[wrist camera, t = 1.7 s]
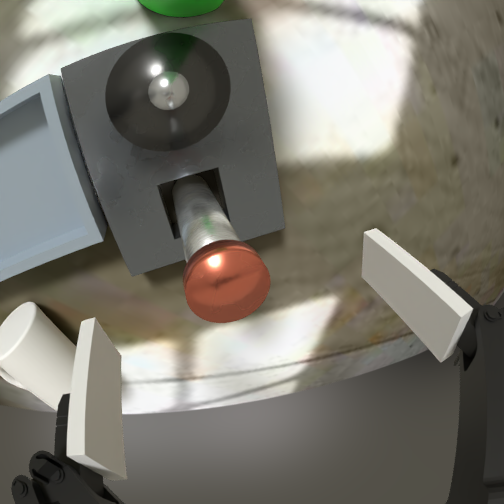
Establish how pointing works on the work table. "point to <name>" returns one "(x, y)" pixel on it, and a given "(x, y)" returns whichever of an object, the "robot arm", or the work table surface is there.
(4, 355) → the mug
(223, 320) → the pin
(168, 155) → the grey block with dome
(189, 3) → the green-shelled ribbed roller
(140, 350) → the work table surface
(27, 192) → the tray
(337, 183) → the work table surface
